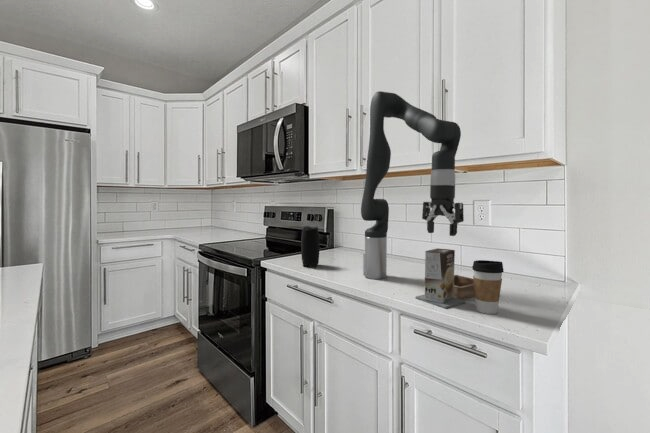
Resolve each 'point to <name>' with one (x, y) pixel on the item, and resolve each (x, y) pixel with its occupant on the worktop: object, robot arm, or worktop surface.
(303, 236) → the portable speaker
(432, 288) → the coffee box
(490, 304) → the coffee cup
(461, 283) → the walnut caddy
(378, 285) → the worktop surface
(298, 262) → the worktop surface
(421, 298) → the slate mat
